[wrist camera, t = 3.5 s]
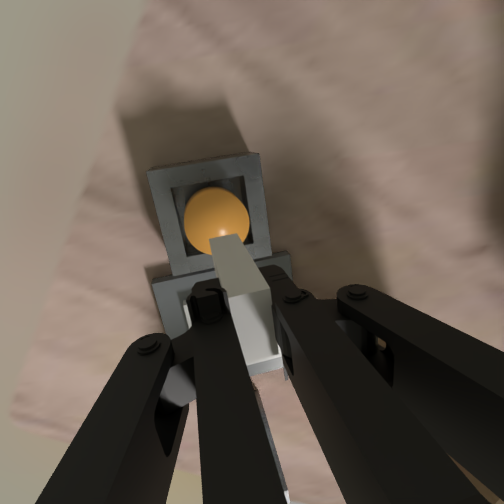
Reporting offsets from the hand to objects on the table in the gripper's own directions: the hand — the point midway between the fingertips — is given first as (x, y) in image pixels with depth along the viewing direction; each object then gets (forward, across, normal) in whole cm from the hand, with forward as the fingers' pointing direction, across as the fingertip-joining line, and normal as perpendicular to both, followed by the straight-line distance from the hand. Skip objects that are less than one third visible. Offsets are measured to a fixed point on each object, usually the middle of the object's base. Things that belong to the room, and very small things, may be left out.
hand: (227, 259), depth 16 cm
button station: (+14, 0, 0) cm, 14 cm away
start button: (+11, 0, 0) cm, 11 cm away
